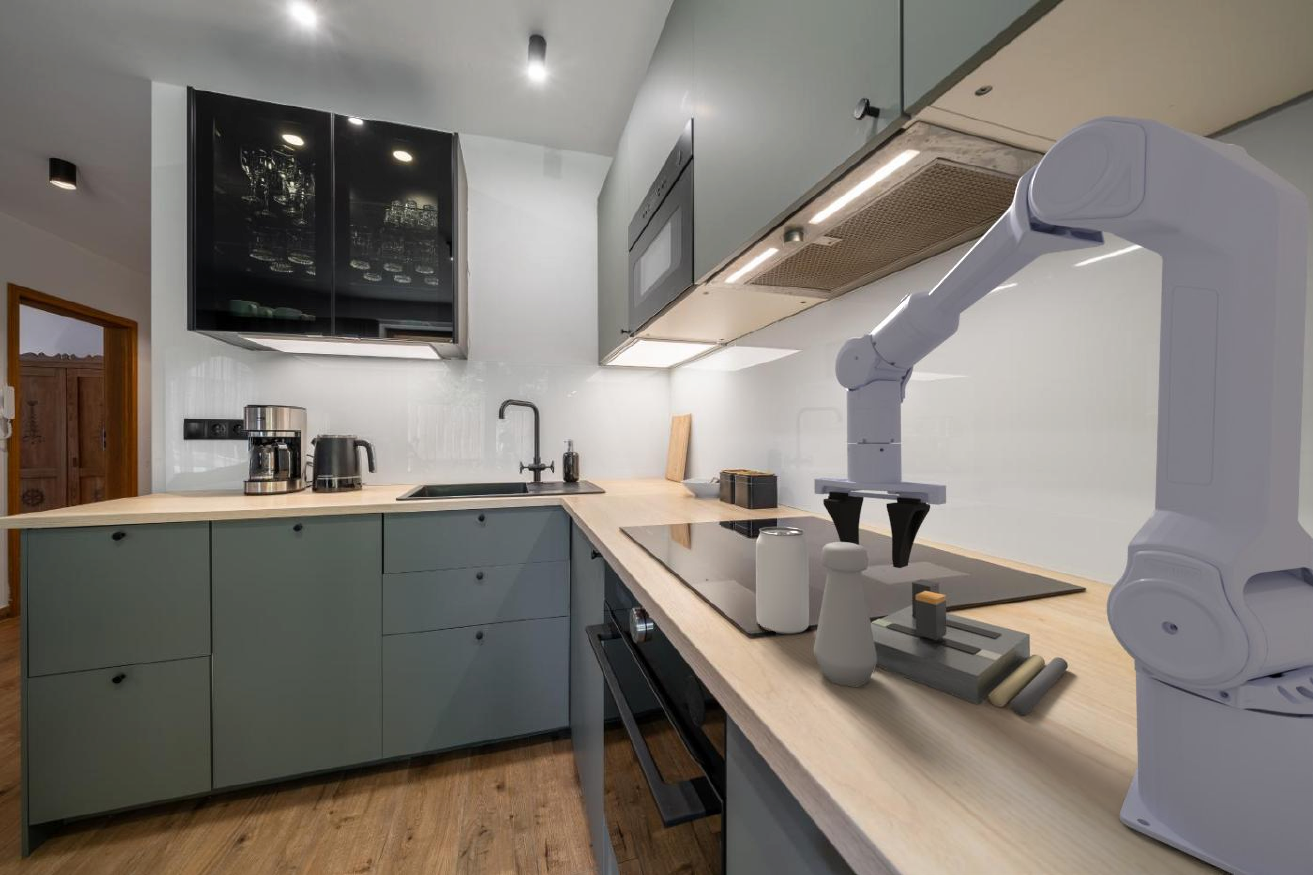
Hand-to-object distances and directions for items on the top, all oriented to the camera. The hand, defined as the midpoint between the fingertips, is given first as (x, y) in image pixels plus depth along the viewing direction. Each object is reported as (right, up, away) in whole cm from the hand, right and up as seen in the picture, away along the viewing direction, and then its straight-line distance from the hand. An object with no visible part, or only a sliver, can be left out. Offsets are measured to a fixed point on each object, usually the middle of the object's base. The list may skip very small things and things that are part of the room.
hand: (874, 561), depth 54 cm
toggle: (+4, -6, -5) cm, 9 cm away
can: (-9, -10, +5) cm, 14 cm away
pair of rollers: (+10, -9, -10) cm, 17 cm away
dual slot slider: (+5, -9, -4) cm, 11 cm away
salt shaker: (-7, -10, -8) cm, 14 cm away
